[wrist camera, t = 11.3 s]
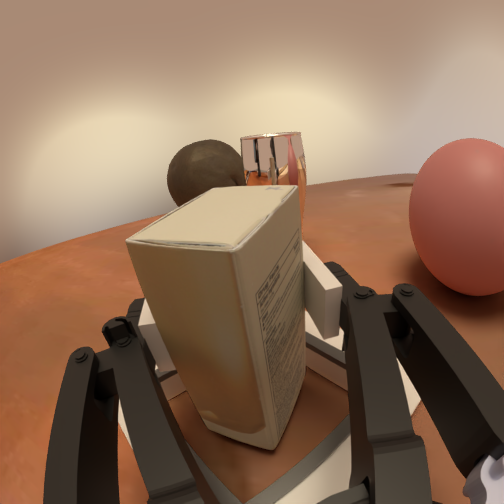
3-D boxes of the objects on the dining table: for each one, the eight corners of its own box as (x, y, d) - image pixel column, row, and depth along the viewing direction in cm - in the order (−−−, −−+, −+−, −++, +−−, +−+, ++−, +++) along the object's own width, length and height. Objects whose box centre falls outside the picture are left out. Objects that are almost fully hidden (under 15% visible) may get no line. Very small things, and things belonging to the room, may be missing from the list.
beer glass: (246, 271, 33) (227, 139, 26) (263, 246, 39) (249, 135, 32) (306, 274, 30) (297, 133, 24) (313, 247, 36) (306, 130, 30)
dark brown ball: (244, 205, 58) (234, 134, 52) (262, 226, 46) (251, 134, 39) (177, 219, 56) (163, 147, 49) (176, 244, 43) (157, 150, 37)
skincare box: (247, 361, 19) (215, 184, 13) (307, 373, 17) (302, 181, 12) (202, 433, 13) (116, 236, 8) (273, 456, 12) (235, 242, 6)
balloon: (517, 384, 11) (591, 176, 4) (374, 274, 28) (377, 128, 22) (558, 307, 15) (590, 172, 8) (448, 243, 32) (456, 133, 26)
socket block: (111, 396, 17) (97, 375, 16) (268, 308, 26) (265, 286, 25) (242, 575, 6) (232, 578, 4) (426, 391, 14) (437, 368, 13)
